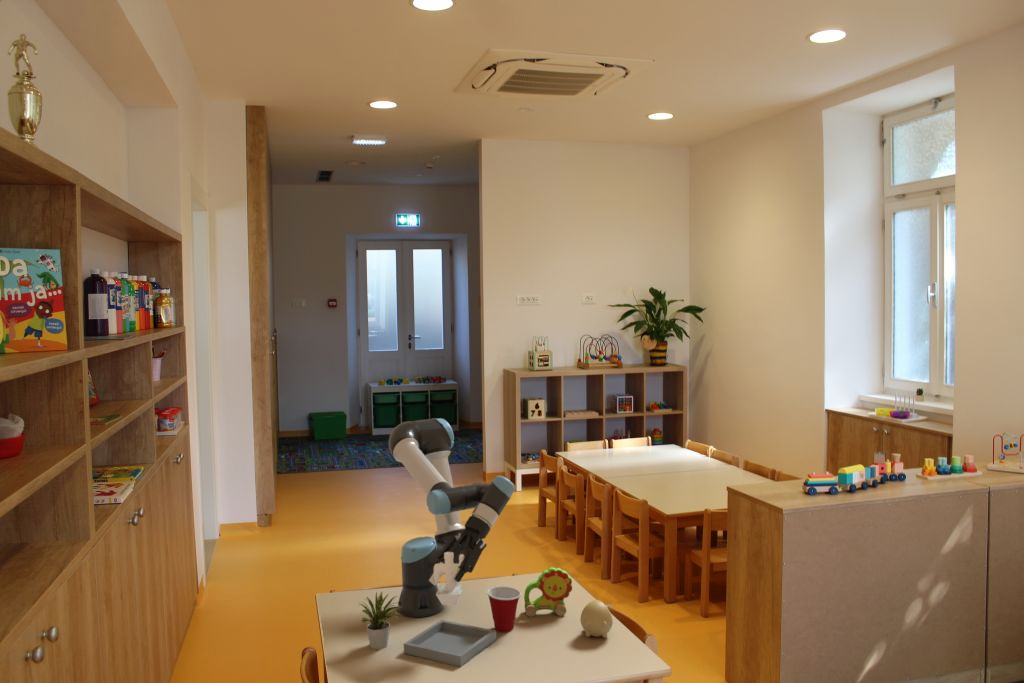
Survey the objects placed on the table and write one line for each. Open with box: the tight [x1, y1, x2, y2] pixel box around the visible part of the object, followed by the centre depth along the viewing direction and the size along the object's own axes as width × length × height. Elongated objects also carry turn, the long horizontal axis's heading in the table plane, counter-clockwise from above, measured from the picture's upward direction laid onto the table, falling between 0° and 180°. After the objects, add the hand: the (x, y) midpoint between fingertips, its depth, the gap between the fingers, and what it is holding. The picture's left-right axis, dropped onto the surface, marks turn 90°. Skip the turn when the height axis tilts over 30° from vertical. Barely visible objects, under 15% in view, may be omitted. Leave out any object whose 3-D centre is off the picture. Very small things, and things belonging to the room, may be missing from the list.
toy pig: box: [579, 599, 614, 639], centre depth 249 cm, size 10×12×11 cm
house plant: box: [359, 591, 399, 650], centre depth 244 cm, size 14×14×16 cm
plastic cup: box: [486, 585, 522, 633], centre depth 256 cm, size 11×11×12 cm
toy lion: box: [523, 566, 573, 618], centre depth 267 cm, size 16×5×15 cm, turn 92°
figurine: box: [434, 552, 465, 606], centre depth 242 cm, size 7×9×15 cm
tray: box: [403, 619, 497, 668], centre depth 243 cm, size 20×20×3 cm
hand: (440, 586), depth 240 cm, fingers closed on figurine, 7 cm apart
